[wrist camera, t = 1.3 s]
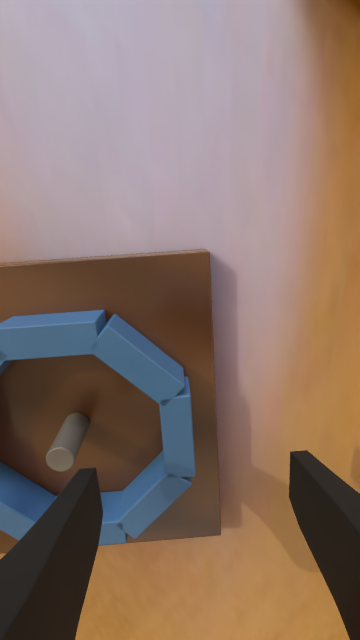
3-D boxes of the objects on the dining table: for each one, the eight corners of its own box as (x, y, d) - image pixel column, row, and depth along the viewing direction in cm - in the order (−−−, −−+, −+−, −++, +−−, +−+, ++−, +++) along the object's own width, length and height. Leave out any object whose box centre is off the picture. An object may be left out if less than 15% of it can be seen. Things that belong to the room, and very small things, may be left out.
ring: (196, 505, 18) (199, 537, 16) (-12, 521, 18) (-33, 557, 16) (183, 303, 15) (185, 314, 13) (-68, 321, 15) (-103, 335, 13)
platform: (217, 513, 20) (230, 587, 16) (-12, 532, 20) (-59, 612, 16) (206, 248, 16) (219, 255, 12) (-87, 269, 16) (-178, 283, 12)
